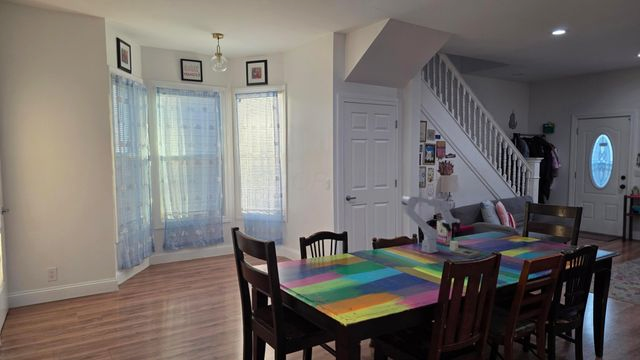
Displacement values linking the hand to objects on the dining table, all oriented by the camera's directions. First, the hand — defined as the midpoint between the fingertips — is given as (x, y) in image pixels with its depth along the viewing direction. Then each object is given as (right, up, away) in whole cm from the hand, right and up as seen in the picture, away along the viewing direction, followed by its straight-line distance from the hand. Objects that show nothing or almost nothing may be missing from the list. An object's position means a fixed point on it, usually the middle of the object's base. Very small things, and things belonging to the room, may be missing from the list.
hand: (454, 231), depth 286 cm
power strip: (+2, -14, -15) cm, 20 cm away
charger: (-1, -13, -2) cm, 13 cm away
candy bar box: (-2, -11, +17) cm, 21 cm away
